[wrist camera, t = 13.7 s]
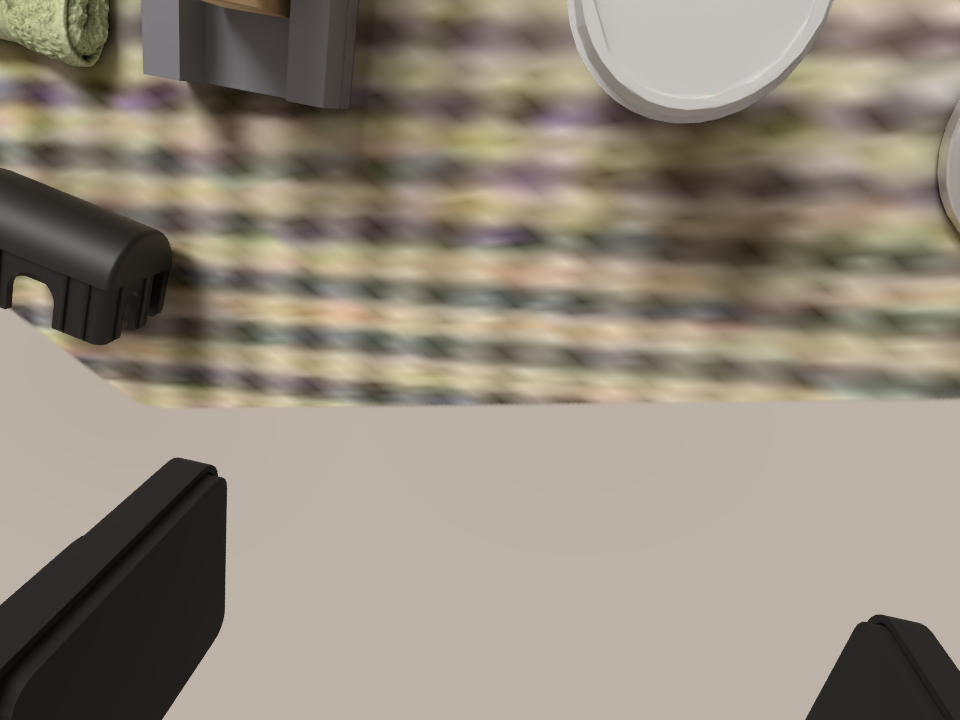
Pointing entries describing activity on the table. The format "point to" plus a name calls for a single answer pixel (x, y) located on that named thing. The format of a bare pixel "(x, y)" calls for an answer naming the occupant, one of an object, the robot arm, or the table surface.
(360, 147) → the table surface
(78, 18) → the washcloth
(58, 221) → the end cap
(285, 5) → the wooden picture frame
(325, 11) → the picture stand
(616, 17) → the disposable coffee cup
